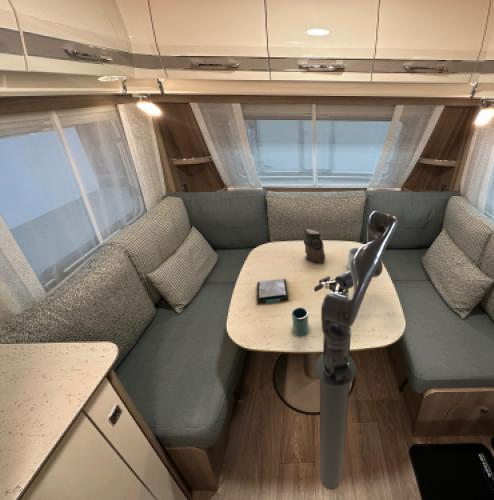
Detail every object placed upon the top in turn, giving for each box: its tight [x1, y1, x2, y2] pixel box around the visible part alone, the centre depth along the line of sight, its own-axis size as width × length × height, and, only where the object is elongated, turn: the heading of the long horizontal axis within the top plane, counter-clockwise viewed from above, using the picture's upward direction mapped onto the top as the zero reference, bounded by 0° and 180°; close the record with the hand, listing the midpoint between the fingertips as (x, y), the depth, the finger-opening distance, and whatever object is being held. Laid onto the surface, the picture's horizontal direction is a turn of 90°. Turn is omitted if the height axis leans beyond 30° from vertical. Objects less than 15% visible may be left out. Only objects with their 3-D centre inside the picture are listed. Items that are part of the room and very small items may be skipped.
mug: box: [347, 247, 360, 271], centre depth 153 cm, size 12×8×11 cm
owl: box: [303, 227, 326, 264], centre depth 161 cm, size 13×13×20 cm
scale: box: [256, 278, 289, 305], centre depth 137 cm, size 16×15×3 cm
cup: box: [291, 307, 310, 337], centre depth 114 cm, size 7×7×10 cm
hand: (320, 294), depth 115 cm, fingers open, 8 cm apart
